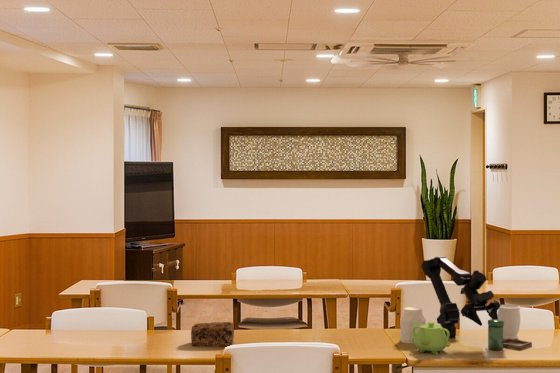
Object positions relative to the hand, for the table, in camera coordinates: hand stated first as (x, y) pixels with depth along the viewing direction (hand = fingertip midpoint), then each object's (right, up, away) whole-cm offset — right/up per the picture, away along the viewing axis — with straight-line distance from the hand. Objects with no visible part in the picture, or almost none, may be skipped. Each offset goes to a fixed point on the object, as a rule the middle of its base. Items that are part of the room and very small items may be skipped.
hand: (489, 324), depth 355 cm
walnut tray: (+12, -11, +3) cm, 16 cm away
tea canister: (+2, -10, -3) cm, 11 cm away
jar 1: (-31, -11, +16) cm, 36 cm away
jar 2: (+15, -11, +23) cm, 30 cm away
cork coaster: (+2, -11, -3) cm, 11 cm away
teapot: (-27, -11, -6) cm, 30 cm away
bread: (-122, -11, +9) cm, 123 cm away
